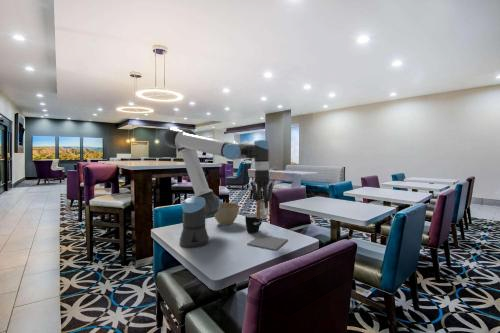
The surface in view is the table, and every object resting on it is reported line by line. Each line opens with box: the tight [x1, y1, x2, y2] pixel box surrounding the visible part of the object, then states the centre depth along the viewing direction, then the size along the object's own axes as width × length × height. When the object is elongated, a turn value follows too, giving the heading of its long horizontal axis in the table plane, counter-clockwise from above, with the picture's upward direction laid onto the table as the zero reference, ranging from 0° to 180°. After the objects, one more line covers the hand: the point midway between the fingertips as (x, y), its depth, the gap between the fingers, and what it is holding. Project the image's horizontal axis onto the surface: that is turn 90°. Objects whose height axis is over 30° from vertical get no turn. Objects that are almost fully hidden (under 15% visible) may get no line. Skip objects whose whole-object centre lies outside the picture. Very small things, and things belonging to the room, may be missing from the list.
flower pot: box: [213, 202, 240, 226], centre depth 164 cm, size 18×18×12 cm
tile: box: [256, 198, 269, 219], centre depth 130 cm, size 2×9×9 cm, turn 149°
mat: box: [246, 234, 288, 252], centre depth 131 cm, size 16×16×1 cm
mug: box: [244, 212, 263, 234], centre depth 149 cm, size 12×9×10 cm
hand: (262, 213), depth 131 cm, fingers closed on tile, 2 cm apart
